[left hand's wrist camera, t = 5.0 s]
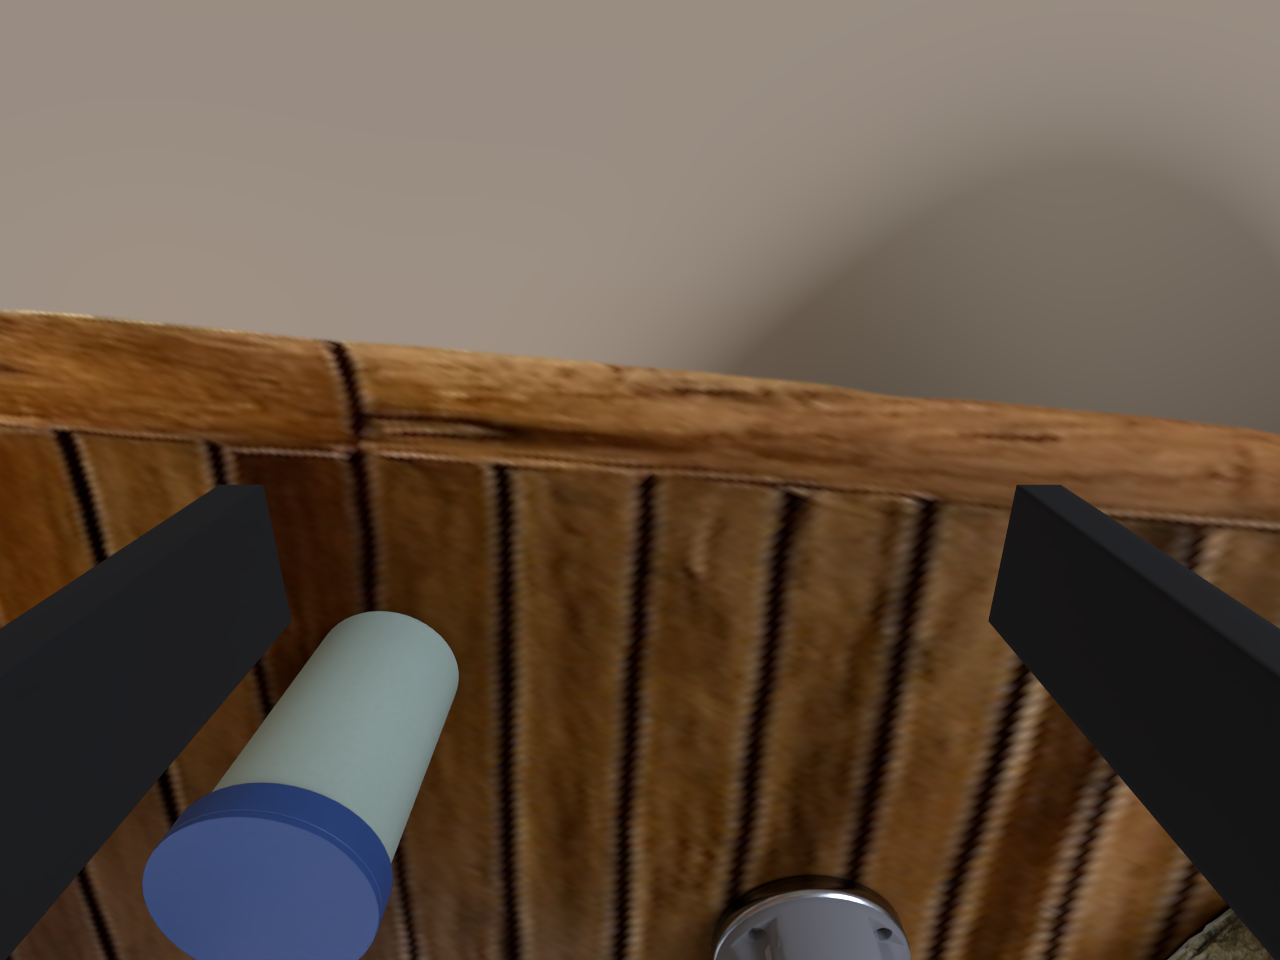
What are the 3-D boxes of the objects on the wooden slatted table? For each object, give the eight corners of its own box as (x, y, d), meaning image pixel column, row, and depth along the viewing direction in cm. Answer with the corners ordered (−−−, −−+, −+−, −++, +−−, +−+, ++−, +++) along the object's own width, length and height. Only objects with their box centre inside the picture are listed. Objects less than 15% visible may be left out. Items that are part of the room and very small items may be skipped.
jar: (487, 672, 47) (413, 898, 32) (399, 749, 49) (290, 994, 34) (377, 584, 45) (238, 782, 29) (290, 669, 47) (119, 894, 32)
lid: (438, 869, 33) (426, 907, 31) (306, 972, 36) (289, 1013, 34) (254, 743, 30) (230, 777, 29) (126, 865, 33) (96, 903, 31)
